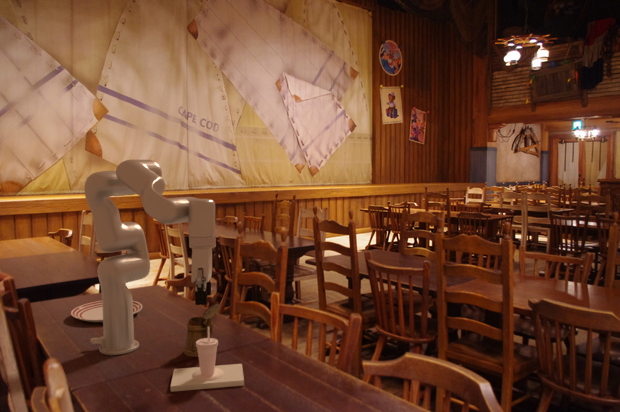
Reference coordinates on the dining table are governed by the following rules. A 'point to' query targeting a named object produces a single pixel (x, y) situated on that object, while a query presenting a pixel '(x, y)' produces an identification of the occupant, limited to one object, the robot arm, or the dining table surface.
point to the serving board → (207, 378)
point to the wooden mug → (199, 329)
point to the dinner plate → (96, 311)
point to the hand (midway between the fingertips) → (203, 299)
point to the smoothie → (207, 354)
